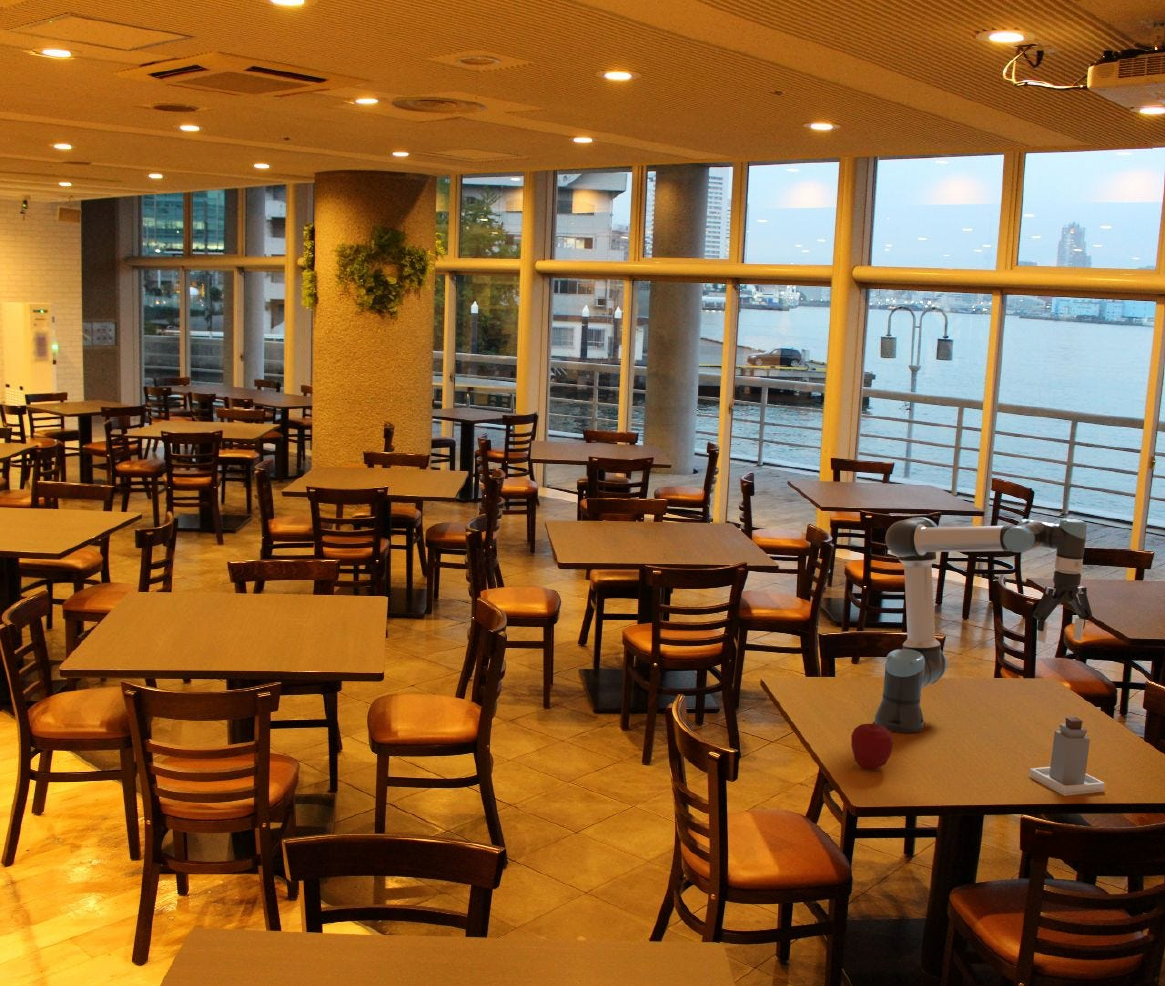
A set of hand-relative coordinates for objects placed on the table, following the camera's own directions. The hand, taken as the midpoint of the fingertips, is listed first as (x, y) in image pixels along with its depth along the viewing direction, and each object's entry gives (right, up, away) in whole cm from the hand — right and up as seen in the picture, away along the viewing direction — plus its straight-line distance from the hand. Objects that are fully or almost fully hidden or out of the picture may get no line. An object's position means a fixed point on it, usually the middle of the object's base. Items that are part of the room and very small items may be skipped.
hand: (1059, 640), depth 370 cm
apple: (-61, -34, -17) cm, 72 cm away
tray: (-6, -38, -21) cm, 44 cm away
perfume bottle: (-6, -37, -21) cm, 43 cm away
